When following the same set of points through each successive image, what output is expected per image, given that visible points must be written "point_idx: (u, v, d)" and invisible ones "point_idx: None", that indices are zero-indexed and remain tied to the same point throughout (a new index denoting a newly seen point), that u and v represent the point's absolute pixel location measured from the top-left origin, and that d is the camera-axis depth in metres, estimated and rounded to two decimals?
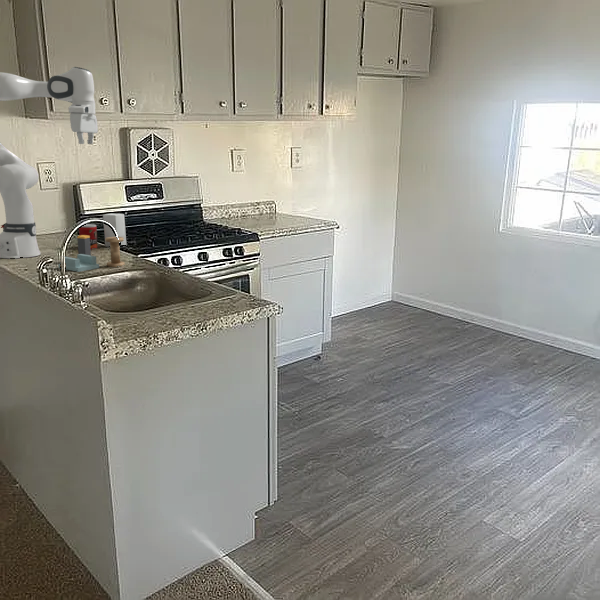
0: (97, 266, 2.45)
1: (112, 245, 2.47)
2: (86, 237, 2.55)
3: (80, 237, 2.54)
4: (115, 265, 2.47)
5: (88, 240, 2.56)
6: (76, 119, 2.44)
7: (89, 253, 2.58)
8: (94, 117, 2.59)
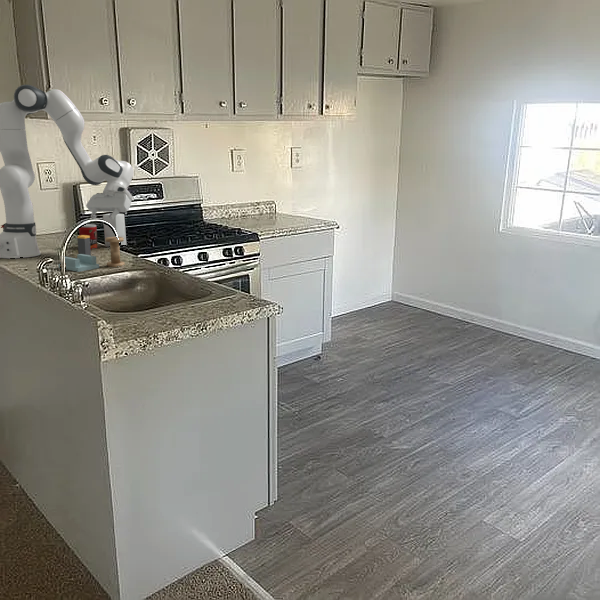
0: (97, 266, 2.45)
1: (112, 245, 2.47)
2: (86, 237, 2.55)
3: (80, 237, 2.54)
4: (115, 265, 2.47)
5: (88, 240, 2.56)
6: (129, 202, 2.67)
7: (89, 253, 2.58)
8: None
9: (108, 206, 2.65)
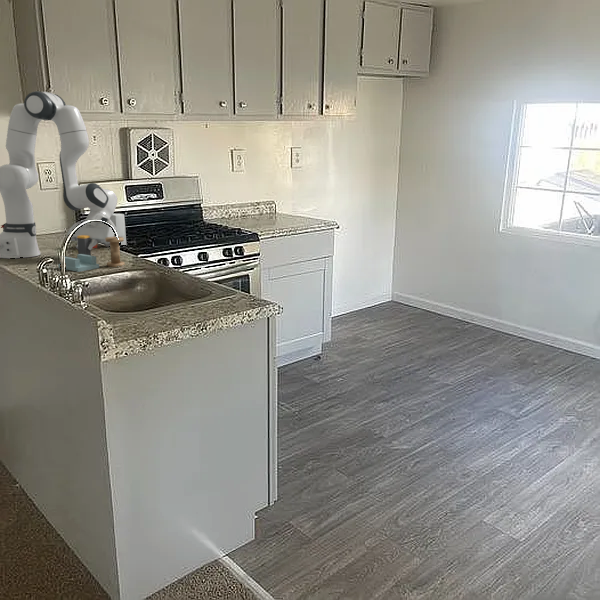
0: (97, 266, 2.45)
1: (112, 245, 2.47)
2: (86, 237, 2.55)
3: (80, 237, 2.54)
4: (115, 265, 2.47)
5: (88, 240, 2.56)
6: (112, 233, 2.58)
7: (89, 253, 2.58)
8: None
9: (90, 237, 2.57)
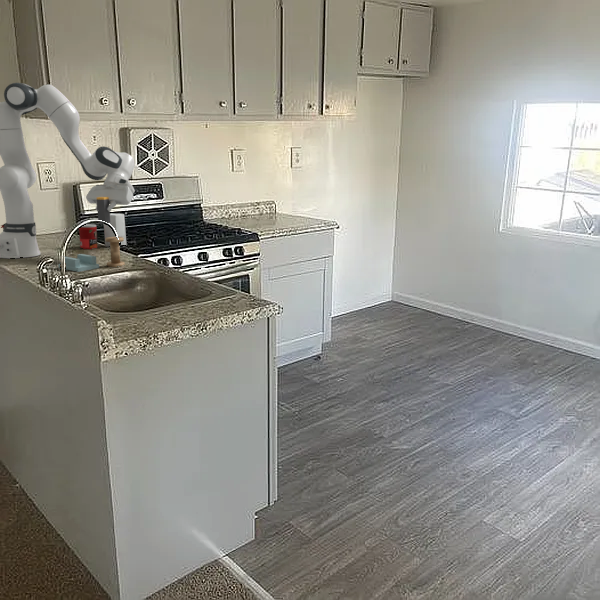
0: (97, 266, 2.45)
1: (112, 245, 2.47)
2: (105, 198, 2.56)
3: (99, 198, 2.55)
4: (115, 265, 2.47)
5: (107, 201, 2.57)
6: (131, 194, 2.60)
7: (108, 214, 2.59)
8: None
9: (109, 198, 2.58)
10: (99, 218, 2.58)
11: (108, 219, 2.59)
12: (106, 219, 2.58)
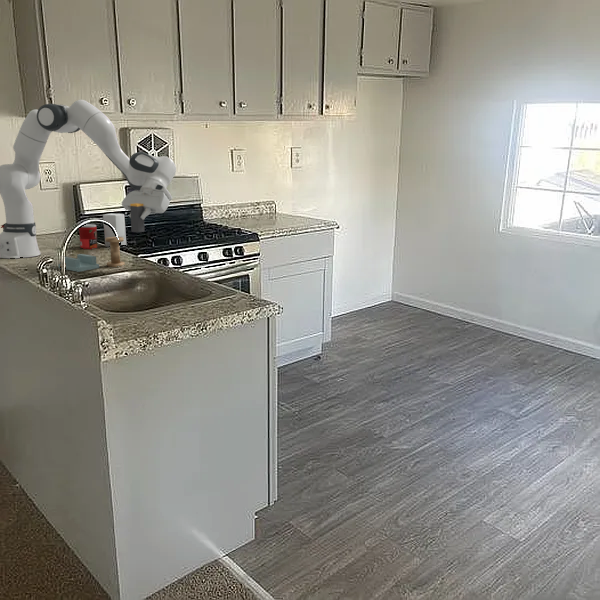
0: (97, 266, 2.45)
1: (112, 245, 2.47)
2: (139, 205, 2.37)
3: (133, 205, 2.37)
4: (115, 265, 2.47)
5: (141, 208, 2.39)
6: (167, 202, 2.39)
7: (142, 223, 2.40)
8: None
9: (144, 205, 2.39)
10: (132, 226, 2.40)
11: (142, 227, 2.40)
12: (140, 227, 2.39)
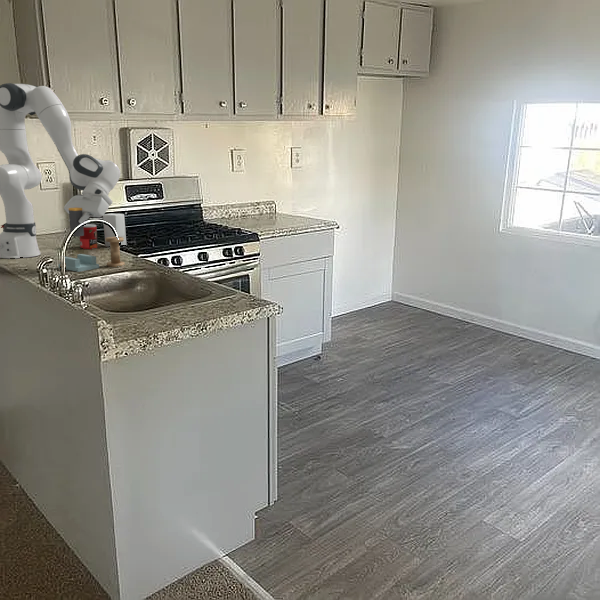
0: (97, 266, 2.45)
1: (112, 245, 2.47)
2: (77, 209, 2.38)
3: (71, 209, 2.38)
4: (115, 265, 2.47)
5: (79, 212, 2.39)
6: (105, 206, 2.39)
7: (81, 227, 2.40)
8: None
9: (83, 209, 2.39)
10: (71, 230, 2.40)
11: (81, 232, 2.41)
12: (78, 231, 2.40)
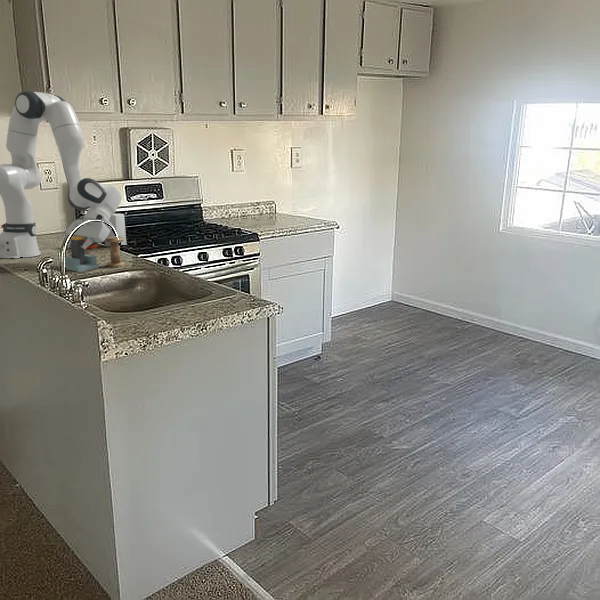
0: (97, 266, 2.45)
1: (112, 245, 2.47)
2: (79, 239, 2.40)
3: (73, 238, 2.40)
4: (115, 265, 2.47)
5: (81, 241, 2.41)
6: (106, 231, 2.41)
7: (82, 256, 2.43)
8: None
9: (84, 235, 2.42)
10: None
11: (82, 260, 2.43)
12: None
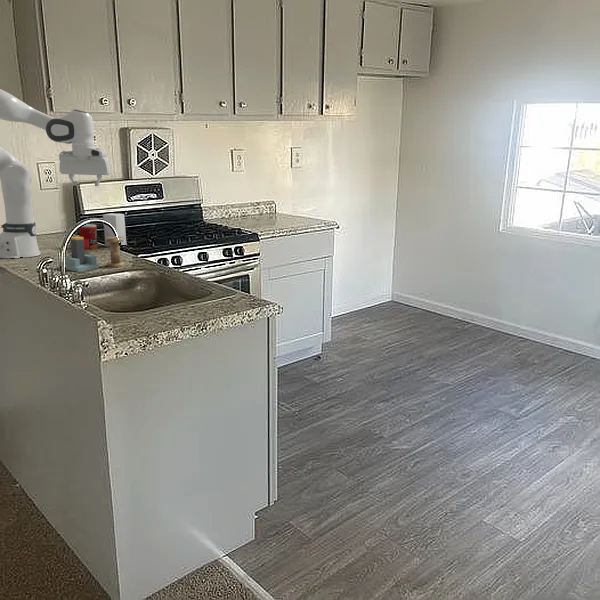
0: (97, 266, 2.45)
1: (112, 245, 2.47)
2: (78, 239, 2.40)
3: (72, 238, 2.40)
4: (115, 265, 2.47)
5: (81, 241, 2.42)
6: (108, 163, 2.51)
7: (82, 256, 2.43)
8: None
9: (88, 173, 2.51)
10: None
11: (82, 260, 2.43)
12: None
